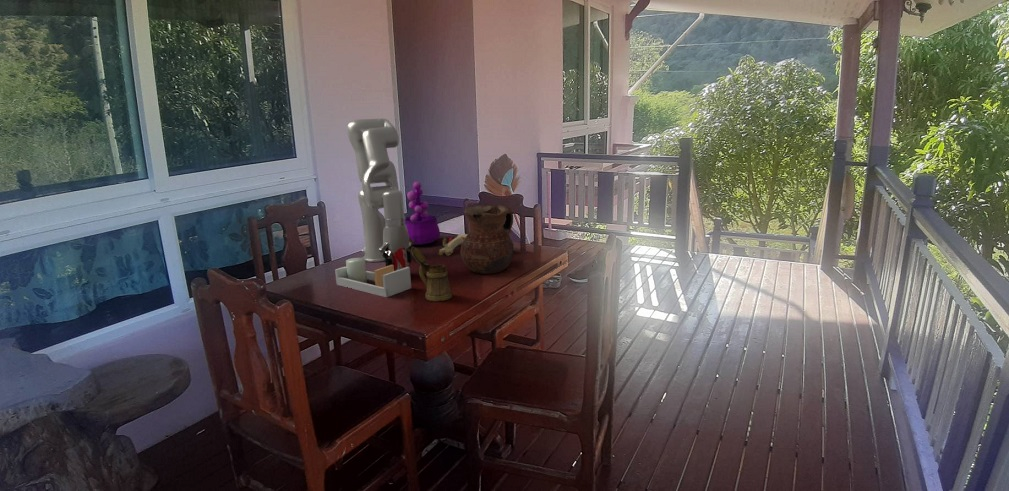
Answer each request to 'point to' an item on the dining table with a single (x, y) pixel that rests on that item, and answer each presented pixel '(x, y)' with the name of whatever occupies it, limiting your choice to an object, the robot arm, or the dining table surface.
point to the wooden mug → (433, 278)
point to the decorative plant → (421, 219)
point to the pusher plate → (381, 272)
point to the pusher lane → (391, 281)
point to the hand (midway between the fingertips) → (398, 265)
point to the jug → (488, 239)
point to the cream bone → (451, 244)
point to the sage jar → (356, 269)
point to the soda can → (399, 259)
